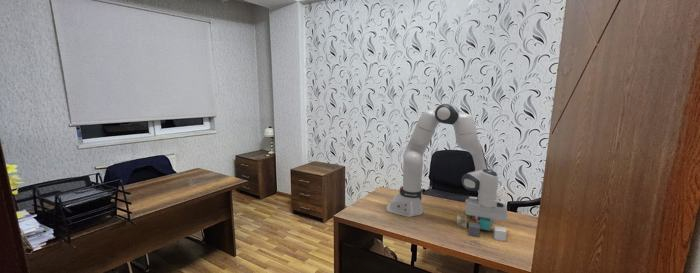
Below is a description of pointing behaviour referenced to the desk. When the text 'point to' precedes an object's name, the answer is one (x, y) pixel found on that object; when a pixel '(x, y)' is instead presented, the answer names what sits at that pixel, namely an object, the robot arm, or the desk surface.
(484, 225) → the teal cube
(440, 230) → the desk surface
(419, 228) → the desk surface
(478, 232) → the charcoal cube
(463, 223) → the birch cube
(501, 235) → the offwhite cube
